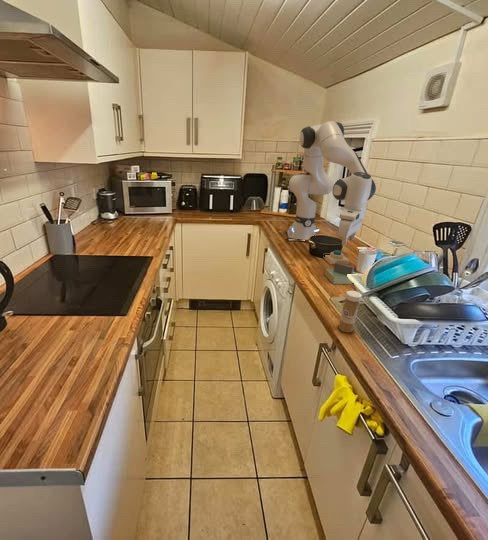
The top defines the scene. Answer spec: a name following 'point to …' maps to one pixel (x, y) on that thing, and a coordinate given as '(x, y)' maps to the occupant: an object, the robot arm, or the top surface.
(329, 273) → the tap plate
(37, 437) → the top surface
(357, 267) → the white cup
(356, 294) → the sprinkles bottle
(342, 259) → the switch block
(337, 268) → the spout
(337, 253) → the button
